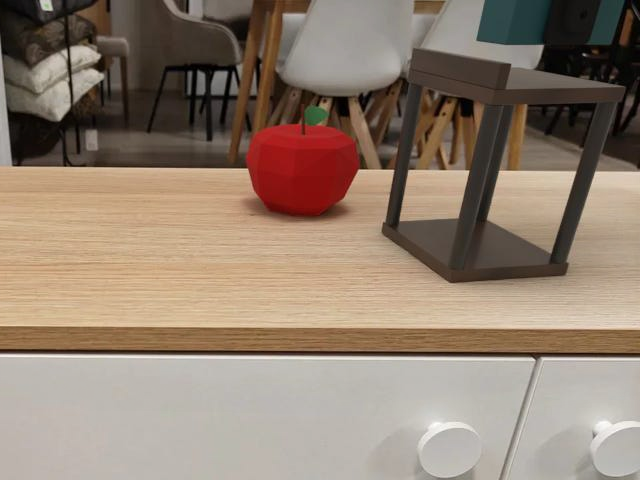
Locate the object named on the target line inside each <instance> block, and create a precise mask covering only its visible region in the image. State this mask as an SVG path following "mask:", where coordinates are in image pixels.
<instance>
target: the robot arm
mask: <svg viewBox="0 0 640 480" xmlns="http://www.w3.org/2000/svg"><path fill="white" fill-rule="evenodd" d="M600 4H601V0H552V3H551V7H550V11H549V15H548V18H547V22H546V26H545V30H544V34H543V38H542V42H543V43H544V44H547V45H546V46H586V45H585V44H587V43H588V42H589V40H590V38H591V34H592V31H593V28H594V24H595V21H596V17H597V14H598V10H599V7H600Z"/></svg>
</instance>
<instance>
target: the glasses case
mask: <svg viewBox="0 0 640 480" xmlns="http://www.w3.org/2000/svg"><path fill="white" fill-rule="evenodd" d="M551 3H552V0H484V2H483V7H482V11H481V15H480V20H479V25H478V28H477V29H478V30H477V35H476V38H475V41H476V42H480V43H488V44H494V45H501V46H502V45H503V46H548V45H547V44H544V43H543V42H542V38H543V34H544V30H545V26H546V22H547V18H548V15H549V11H550V7H551ZM624 4H625V0H601V4H600V7H599V10H598V14H597V17H596V21H595V24H594V28H593V31H592V34H591V38H590V40H589V42H588V43H587V44H585V45H584V46H599V45H600V46H604V45H605V46H606V45H607V46H608V45H612V43H613V39H614V36H615V33H616V30H617V27H618V24H619V20H620V17H621V13H622V10H623V7H624Z"/></svg>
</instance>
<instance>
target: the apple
mask: <svg viewBox="0 0 640 480" xmlns="http://www.w3.org/2000/svg"><path fill="white" fill-rule="evenodd" d="M300 114H301V119H300V120H301V123H294V124H293V123H291V124H290V123H288V124H287V123H286V124H278V125H273V126H268V127H264V128H263V129H261V130H260V131H258V132H256V133H255V134H253V136H252V139H251V142H250V144H249V147H248V150H247V153H246V156H245V163H246V167H247V171H248V173H249V178H250V182H251V185H252V189H253V191H254V193H255V194H256V196H257V198H258V199H259V200H260V201H261V202H262V204H263V205H264V206H265V207H266V208H267V210H268V211H269V212H274V213H278V214H283V215H288V216H304V217H305V216H312V217H313V216H315V217H316V216H319V215H321V214H322V213H325V212H326V211H328V210H329V209H331V208H332V207H333V206H335V205H337V204H338V203H339V202H341V201H342V200H344V199H345V197H346V195H347V193H348V191H349V189H350V187H351V185H352V183H353V182H354V179H355V178H356V176H357V174H358V172H359V170H360V161H359V155H358V154H359V153H358V148H357V142H356V140H354V139H352V137H350V136H349V135H348V134H347V133H345V132H343V131H341V130H340V129H337V128H336V127H332V126H326V125H319V124H320V123H322V122H323V121H324V120H325V119H327V118H328V117H329V115H330V113H329V112H328V111H327V110H325V109H324V108H322V107H319V106H317V105H309V106H307V107H306V108H305V104H304V103H301V104H300Z"/></svg>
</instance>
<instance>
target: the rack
mask: <svg viewBox="0 0 640 480" xmlns="http://www.w3.org/2000/svg"><path fill="white" fill-rule="evenodd" d="M406 82H407V83H408V89H407V94H406V98H405V99H406V100H405V106H404V110H403V111H404V112H403V117H402V122H401V128H400V133H399V139H398V146H397V151H396V157H395V163H394V169H393V174H392V175H393V176H392V180H391V186H390V192H389V197H388V202H387V203H388V204H387V208H386V215H385V220H384V221H382V226H381V231H380V232H381V234H382V235H384V236H385V237H387V239H390V240H391V241H392V242H394V244H397V246H400V247H401V248H402V249H403V250H405V251H406V252H408V253H409V254H410V255H412V256H413V257H414V258H416V259H417V260H419V261H420V262H421V263H423V264H424V265H426V266H427V267H428V268H429V269H431V270H432V271H434V272H435V273H436V274H438V275H439V276H440V277H442V278H443V279H445V280H447V282H449V283H462V282H476V281H491V280H493V281H494V280H504V279H505V280H506V279H520V278H537V277H553V276H566V274H567V272H568V268H569V266H570V262H568V258H569V255H570V252H571V249H572V246H573V243H574V240H575V237H576V234H577V231H578V228H579V224H580V220H581V217H582V215H583V211H584V208H585V205H586V203H587V199H588V196H589V193H590V189H591V187H592V183H593V180H594V178H595V174H596V171H597V167H598V164H599V161H600V158H601V156H602V153H603V150H604V146H605V143H606V141H607V140H606V139H607V136H608V133H609V131H610V127H611V124H612V121H613V118H614V114H615V112H616V109H617V107H618V104H619V103H622V102H623V99H624V95H625V93H626V90H627V86H624V85H618V84H613V83H607V82H601V81H596V80H591V79H586V78H580V77H576V76H575V77H574V76H568V75H563V74H557V73H552V72H547V71H542V70H541V71H540V70H536V69H530V68H525V67H521V66H520V67H519V66H518V67H515V66H514V67H512V63H510V62H505V61H499V60H493V59H487V58H482V57H476V56H471V55H466V54H459V53H454V52H448V51H442V50H437V49H431V48H425V47H413V48H412V51H411V57H410V63H409V69H408V73H407V80H406ZM425 88H428V89H432V90H435V91H439V92H442V93H446V94H448V95H454V96H457V97H461V98H465V99H468V100H471V101H475V102H478V103H482V104H484V105H483V106H484V107H483V109H482V113H481V118H480V123H479V127H478V131H477V135H476V141H475V145H474V148H473V154H472V158H471V162H470V167H469V171H468V175H467V180H466V183H465V187H464V192H463V197H462V201H461V205H460V210H459V215H458V217H456V218H436V219H420V220H419V219H417V220H400V219H401V213H402V208H403V203H404V198H405V194H406V193H405V192H406V187H407V183H408V176H409V171H410V165H411V161H412V153H413V150H414V149H413V148H414V144H415V139H416V133H417V129H418V128H417V127H418V123H419V116H420V111H421V105H422V100H423V96H424V95H423V94H424V89H425ZM554 104H556V105H557V104H558V105H559V104H560V105H561V104H596V106H595V109H594V111H593V112H594V113H593V116H592V120H591V123H590V126H589V129H588V133H587V136H586V139H585V141H584V145H583V149H582V153H581V155H580V159H579V162H578V165H577V168H576V171H575V174H574V177H573V181H572V185H571V188H570V190H569V194H568V198H567V200H566V204H565V207H564V210H563V214H562V217H561V220H560V224H559V227H558V231H557V234H556V237H555V240H554V243H553V245H552V246H553V247H552V249H551V252H549V251H547V250H546V249H544V248H542V247H540V246H537V245H536V244H534V243H532V242H530V241H528V240H526V239H524V238H522V237H521V236H519V235H517V234H515V233H513V232H511V231H509V230H508V229H505V228H504V227H502V226H500V225H498V224H496V223H494V222H492V221H490V220H488V218H489V213H490V210H491V207H492V202H493V198H494V193H495V190H496V186H497V181H498V178H499V174H500V170H501V165H502V161H503V159H504V154H505V150H506V146H507V142H508V138H509V133H510V130H511V126H512V122H513V118H514V114H515V109H516V107H517V106H518V105H519V106H521V105H554Z"/></svg>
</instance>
